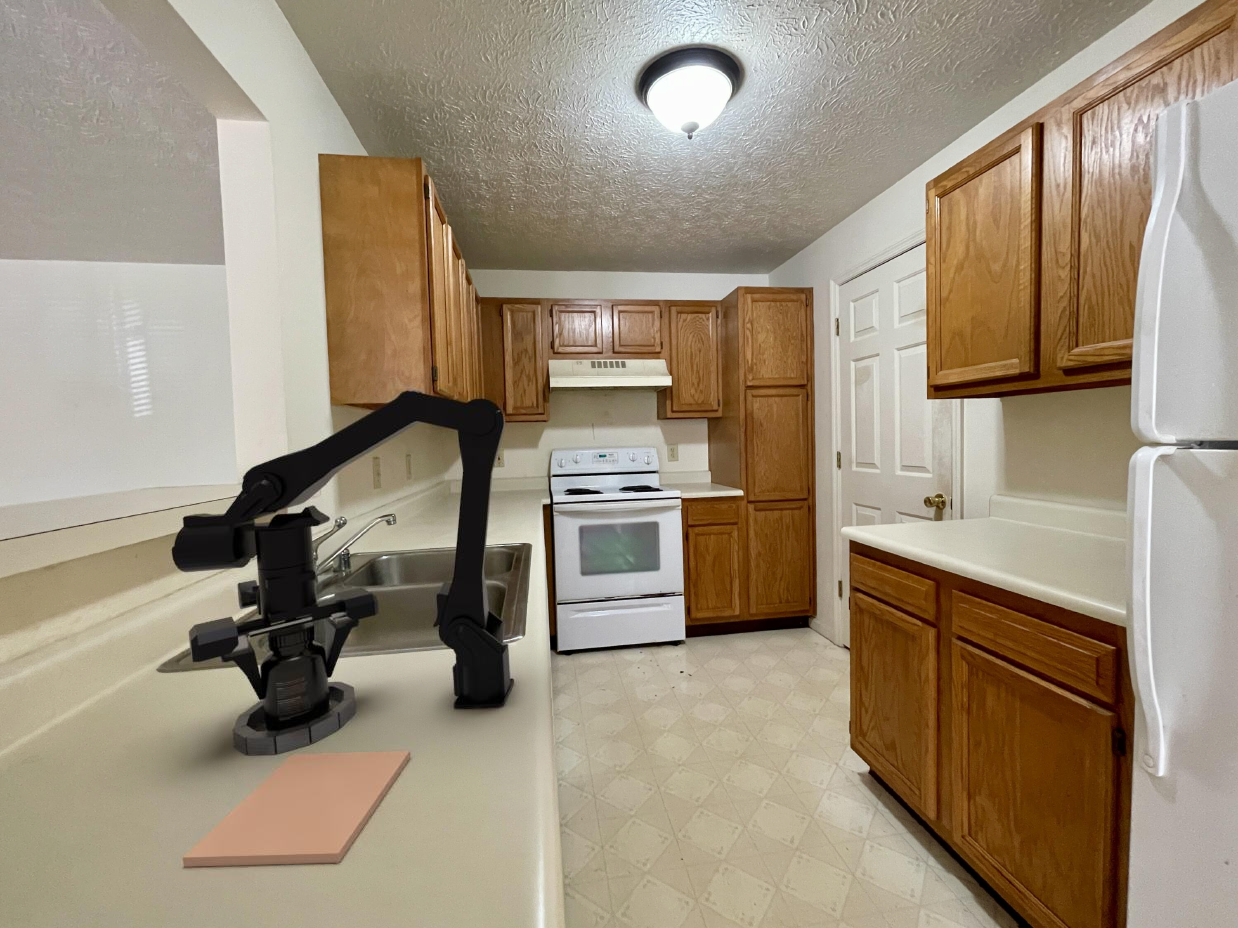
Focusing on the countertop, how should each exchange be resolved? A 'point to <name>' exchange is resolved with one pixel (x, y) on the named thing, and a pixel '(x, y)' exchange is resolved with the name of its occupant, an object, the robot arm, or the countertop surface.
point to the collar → (294, 736)
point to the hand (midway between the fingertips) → (296, 687)
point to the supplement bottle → (294, 678)
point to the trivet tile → (302, 811)
